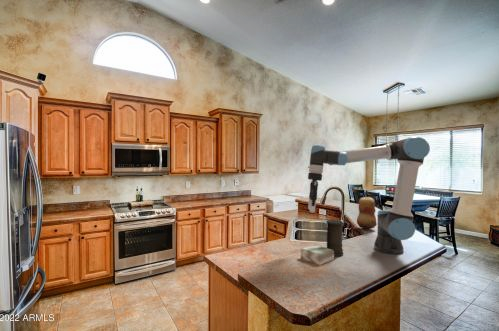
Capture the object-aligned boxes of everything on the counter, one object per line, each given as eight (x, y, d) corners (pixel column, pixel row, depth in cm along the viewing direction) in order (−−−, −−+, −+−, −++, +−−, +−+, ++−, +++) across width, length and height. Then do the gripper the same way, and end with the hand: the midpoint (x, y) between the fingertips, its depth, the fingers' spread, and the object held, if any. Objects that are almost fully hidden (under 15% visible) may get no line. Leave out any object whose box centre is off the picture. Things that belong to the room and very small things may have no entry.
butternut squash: (357, 230, 194) (357, 197, 194) (356, 226, 207) (356, 196, 207) (377, 232, 190) (377, 198, 190) (374, 228, 202) (375, 196, 203)
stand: (334, 259, 132) (334, 249, 132) (319, 264, 124) (319, 254, 124) (314, 253, 141) (315, 244, 141) (300, 257, 134) (300, 248, 134)
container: (346, 255, 139) (346, 222, 139) (335, 257, 134) (335, 223, 134) (333, 250, 147) (333, 219, 147) (322, 252, 142) (322, 220, 142)
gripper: (307, 173, 155) (303, 207, 154) (310, 171, 131) (305, 212, 130) (319, 174, 154) (315, 209, 153) (325, 173, 130) (320, 214, 129)
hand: (311, 210), depth 142 cm, fingers open, 13 cm apart
